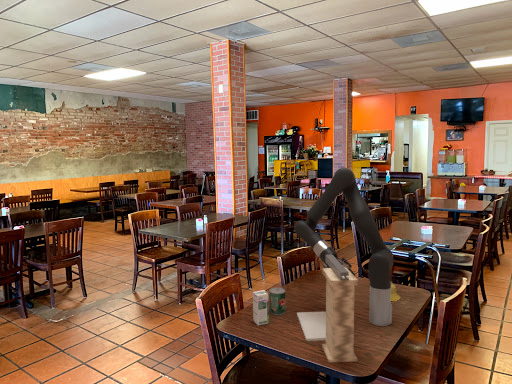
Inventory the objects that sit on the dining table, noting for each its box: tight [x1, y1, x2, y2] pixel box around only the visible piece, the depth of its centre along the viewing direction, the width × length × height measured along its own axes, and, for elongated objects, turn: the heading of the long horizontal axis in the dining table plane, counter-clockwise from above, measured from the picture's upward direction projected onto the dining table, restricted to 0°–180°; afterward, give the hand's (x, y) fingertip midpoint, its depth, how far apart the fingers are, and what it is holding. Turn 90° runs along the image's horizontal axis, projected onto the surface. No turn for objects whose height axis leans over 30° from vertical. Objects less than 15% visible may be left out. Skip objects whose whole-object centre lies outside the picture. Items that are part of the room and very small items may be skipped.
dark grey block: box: [325, 255, 349, 280], centre depth 149 cm, size 3×26×3 cm, turn 3°
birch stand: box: [321, 267, 359, 363], centre depth 147 cm, size 11×15×32 cm
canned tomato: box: [269, 287, 287, 316], centre depth 187 cm, size 8×8×11 cm
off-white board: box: [296, 311, 326, 342], centre depth 171 cm, size 18×26×1 cm
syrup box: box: [252, 289, 270, 326], centre depth 175 cm, size 6×6×14 cm
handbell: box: [389, 251, 401, 301], centre depth 202 cm, size 12×12×25 cm
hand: (348, 278), depth 165 cm, fingers open, 8 cm apart
